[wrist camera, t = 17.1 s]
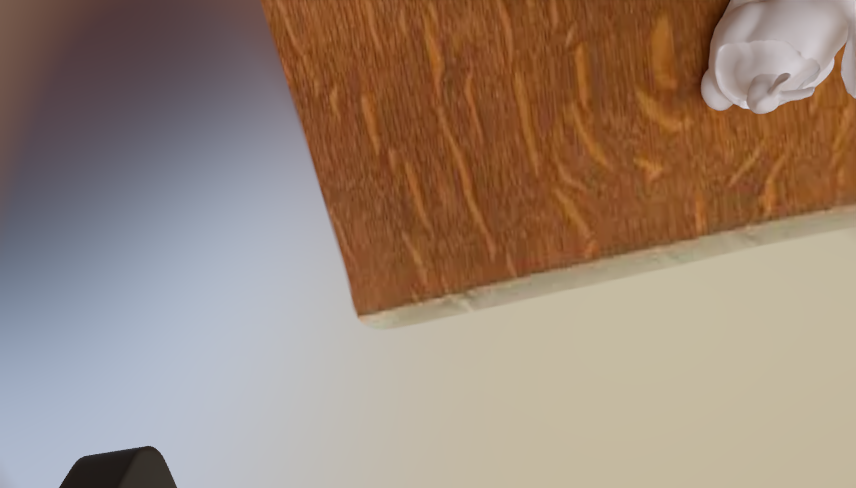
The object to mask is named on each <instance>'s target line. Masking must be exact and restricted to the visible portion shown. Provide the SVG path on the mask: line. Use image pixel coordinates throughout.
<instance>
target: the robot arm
mask: <svg viewBox="0 0 856 488" xmlns="http://www.w3.org/2000/svg"><path fill="white" fill-rule="evenodd" d="M59 488H177V487H176V484H175V482H174V480H173V477H172V475H171V473H170V471H169V468H168V466H167V464H166V462H165V460H164V458H163V456H162V455H161V453H160V452H159V451H158V450H157V449H156V448H154V447H151V446H145V447H139V448H132V449H126V450H121V451H114V452H108V453H102V454H95V455H89V456H84V457H82V458H80V459H79V460H78V461H77V462H76V463H75V464H74V465H73V467H72V469H71V470H70V471H69V473H68V475H67V476H66V478H65V479H64V481H63V482H62V484H61V486H60V487H59Z"/></svg>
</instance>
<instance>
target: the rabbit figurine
mask: <svg viewBox="0 0 856 488" xmlns="http://www.w3.org/2000/svg"><path fill="white" fill-rule="evenodd" d="M845 42H846V46H845V51H844V55H843V59H842V68H841V75H842V78H843V81H844V83H845V88H846V90H847V92H848V93H849V94H851V95H852V96H853V98H856V0H730V2H729V5H728V7H727V9H726V11H725V13H724V15H723V17H722V18H721V20H720V21H719V23H718V24H717V26H716V28H715V30H714V33H713V37H712V39H711V43H710V55H709V69H708V70H707V71H706V72H705V74H704V76H703V78H702V82H701V94H702V97H703V99H704V101H705V102H706V104H707V105H708V106H709V107H711V108H712V109H715V110H719V111H722V110H725V109H727V108H729V107H730V106H731V105H733V104H736V105H738V106H740V107H742V108H744V109H745V108H747V109H750V110H751V111H753V112H754V113H757V114H763V113H767V112H771V111H773V110H775V109H776V108H777V107H778V106H779V105H781V104H784V103H786V102H788V101H791V100H800V99H803V98H805V97H809V96H811V95H812V94H813V92H814V89H815V87H816V86H817V85H818V84H820V83H821V82H822V81H823V80H824V79H825V78H826V77H827V76H828V75H829V74H830V72H831V71H832V69H833V66H834V57H835V55H836V53H837V52H838V51H839V50H840V49H841V47H842V46H843V45H844V44H845Z"/></svg>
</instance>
